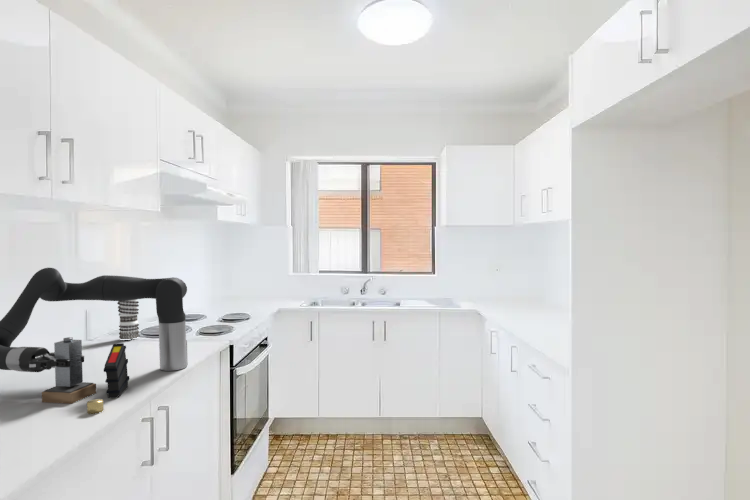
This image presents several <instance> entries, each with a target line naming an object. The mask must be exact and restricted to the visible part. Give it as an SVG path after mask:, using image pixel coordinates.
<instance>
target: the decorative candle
mask: <svg viewBox="0 0 750 500" xmlns="http://www.w3.org/2000/svg"><path fill="white" fill-rule="evenodd" d="M116 303H117V305H118V306H117V309H118V310H117V311H118V316H119V325H118V327H119V329H118V331H119V333H118V334H119V337H118V338H119V340H120V339H133V338H137V337H139V336H140V334H139V333H140V331H139V329H140V327H139V326H140V324H139V320H138V315H139V311H140V310H139V309H138V307H139V306H140V304H139V303H140V302H139V301H138V299H136V300H127V301H117V302H116Z"/></svg>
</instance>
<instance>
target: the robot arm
mask: <svg viewBox="0 0 750 500" xmlns="http://www.w3.org/2000/svg"><path fill="white" fill-rule="evenodd" d="M187 293H188V287H187V284H186V283H185V282H184V281H183V280H182V279H181V278H179V277H165V278H143V277H137V276H136V277H135V276H124V275H123V276H122V275H105V274H104V275H99V276H97V277H94V278H92V279H90V280H88V281H85V282H77V283H75V282H66V281H64V277H62V275H61V273H60V271H59V270H58V269H56V268H54V267H44V268H41V269H39V270H37V272H35V273H34V274H33V275H32V276H31V278H30V280H28V282H27V284H26V285H25V287H24V288H23V290H22V291H21V293H20V295H19V296H18V298H17V299H16V301H15V303H14V304H13V305H12V306H11V308H10V309H9V310H8V312H7V313H5V315H4V316H3V317H2V318H1V319H0V371H1V370H3V371H16V372H21V373H22V372H23V373H41V372H44V371H45V370H48V371H50V370H51V369H55V368H57V367H70V360H65V359H58V361H57V359H55V351H54V352H50V351H49V349H47V348H45V347H43V346H41V347H40V346H38V347H37V346H19V347H18V346H17V347H16V346H12V343H14V341H15V340H16V338H18V336H19V335H20V334H22V332H23V330H25V328H26V326H27V325H28V323H29V320H30V318H31V316H32V313H33V311H34V308H35V306H36V305H37V302H38V301H39V299H41V300H42V301H46V302H65V301H106V302H119V301H127V300H136V299H137V300H142V299H152V300H153V299H155V305H156V307H155V308H156V315H157V318H158V319H157V320H158V342H159V343H158V347H159V349H158V350H159V370H160V371H164V372H166V371H167V372H168V371H169V372H170V371H178V370H184V369H185V368H187V367H188V363H189V362H188V361H189V360H188V340H187V329H186V328H187V327H186V325H187V324H186V312H185V311H184V304H183V303H184V299H183V298H185V297H186V294H187ZM84 362H85V355H83V354H82V363H84Z"/></svg>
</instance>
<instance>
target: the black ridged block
mask: <svg viewBox="0 0 750 500" xmlns="http://www.w3.org/2000/svg"><path fill="white" fill-rule="evenodd" d="M126 349H127V345H125V344H124V343H112V346H111V348H110V351H109V354H108V356H107V358H106V361H105V362H104V363H105V364H104V368H103V373H106V374H105V375H106V379H105V381H104V382H105V383H106V384H107V390H106V391H105V395H107V398H108V399H115V398H116V397H117V398H120V396H121V395H122V394H123V393H124V392H125V391H126V390H127V389H128V388H129V380H130V375H128V363H129V360H128V358H127V354H126Z"/></svg>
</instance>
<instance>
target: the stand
mask: <svg viewBox="0 0 750 500" xmlns="http://www.w3.org/2000/svg"><path fill="white" fill-rule="evenodd" d="M92 394H93V395H95V394H97V383H94V382H88V381H85V382H84V381H83V382H81V383H79V384H76V385H73V386H71V387H66V386H56V385H55V386H52V387H50V388H47V389H44V391H42V392H41V403H50V404H71V405H72V404H74V403H76V401H77V402H79V401H82V400H84V399H86V398H88V397H90V395H91V396H92ZM87 396H88V397H87ZM85 397H86V398H85ZM83 398H84V399H83ZM78 400H79V401H78Z"/></svg>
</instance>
